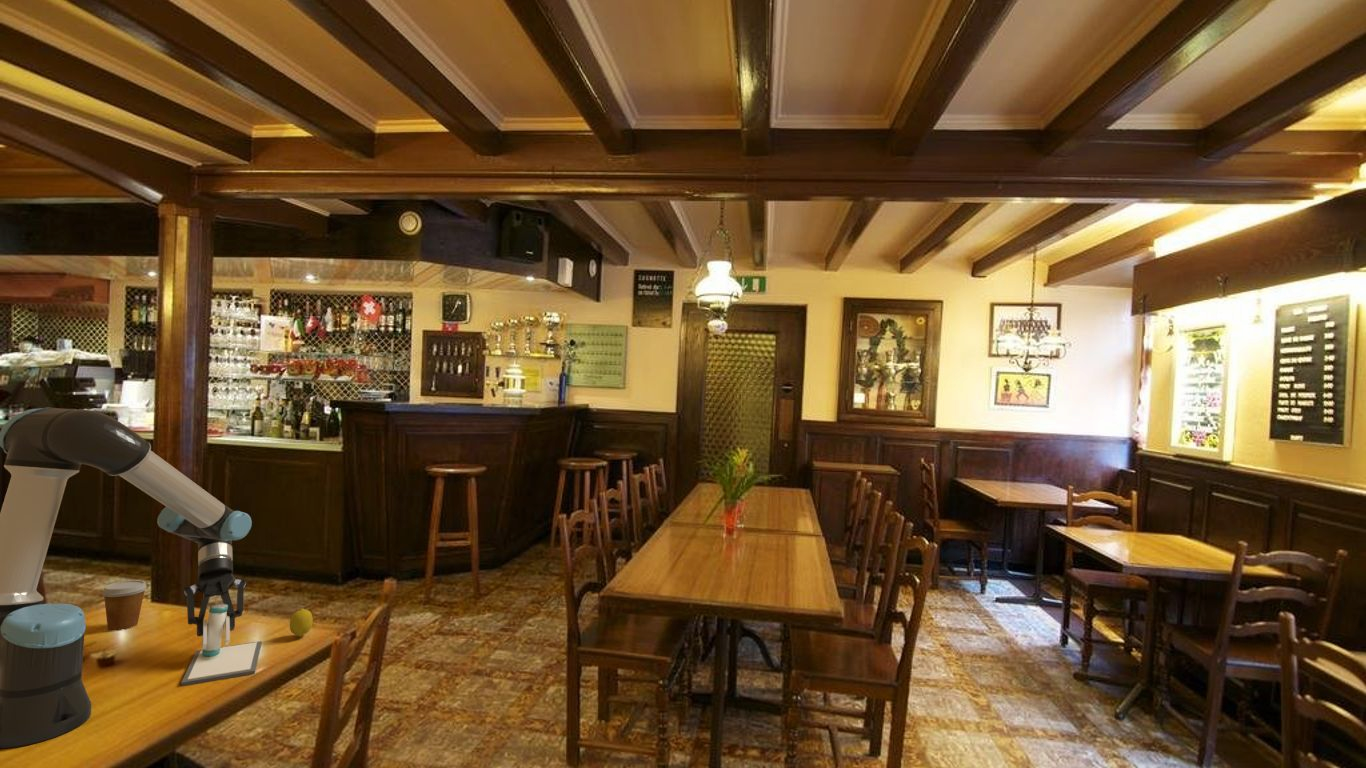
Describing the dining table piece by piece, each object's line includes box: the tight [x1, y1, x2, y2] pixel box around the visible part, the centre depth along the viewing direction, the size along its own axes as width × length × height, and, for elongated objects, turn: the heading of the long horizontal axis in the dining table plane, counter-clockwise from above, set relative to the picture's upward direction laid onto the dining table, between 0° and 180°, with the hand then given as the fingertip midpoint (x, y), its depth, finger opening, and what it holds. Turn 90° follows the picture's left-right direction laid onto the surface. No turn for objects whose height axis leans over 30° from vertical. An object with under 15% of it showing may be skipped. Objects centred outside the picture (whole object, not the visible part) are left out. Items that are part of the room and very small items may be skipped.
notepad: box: [180, 640, 263, 687], centre depth 152 cm, size 14×20×1 cm
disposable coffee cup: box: [101, 579, 148, 631], centre depth 173 cm, size 10×10×12 cm
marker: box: [202, 603, 228, 657], centre depth 155 cm, size 4×4×12 cm
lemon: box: [289, 607, 314, 638], centre depth 170 cm, size 6×6×8 cm
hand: (216, 644), depth 153 cm, fingers closed on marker, 4 cm apart
